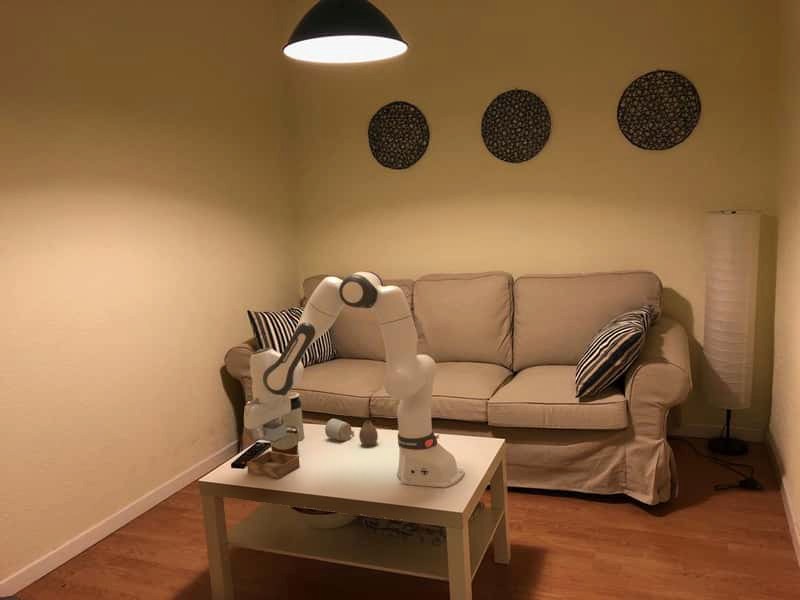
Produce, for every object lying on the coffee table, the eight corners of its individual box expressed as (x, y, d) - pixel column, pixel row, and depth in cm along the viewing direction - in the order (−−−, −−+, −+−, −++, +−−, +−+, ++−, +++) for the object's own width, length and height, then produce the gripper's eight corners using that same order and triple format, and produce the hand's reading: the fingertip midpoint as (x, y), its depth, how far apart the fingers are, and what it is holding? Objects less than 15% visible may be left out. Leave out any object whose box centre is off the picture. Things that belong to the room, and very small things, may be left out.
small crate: (286, 436, 240) (285, 424, 240) (275, 442, 235) (273, 429, 235) (265, 432, 246) (264, 420, 245) (253, 438, 241) (252, 426, 240)
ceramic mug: (340, 444, 263) (339, 424, 262) (325, 440, 268) (323, 421, 267) (359, 435, 271) (358, 417, 270) (344, 432, 276) (343, 413, 275)
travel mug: (306, 435, 276) (302, 391, 273) (301, 442, 268) (297, 397, 265) (286, 435, 276) (282, 392, 274) (281, 443, 269) (277, 398, 266)
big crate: (300, 467, 243) (299, 456, 242) (278, 479, 234) (277, 468, 233) (270, 461, 251) (269, 450, 250) (247, 473, 241) (246, 462, 241)
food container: (305, 448, 261) (302, 423, 259) (301, 454, 255) (298, 429, 253) (273, 449, 262) (271, 424, 260) (269, 456, 256) (266, 430, 254)
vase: (362, 441, 264) (360, 419, 262) (379, 441, 263) (378, 419, 261) (358, 448, 257) (356, 425, 256) (376, 447, 256) (374, 425, 255)
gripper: (251, 404, 228) (255, 444, 230) (292, 387, 245) (295, 424, 247) (237, 402, 231) (241, 441, 233) (278, 385, 248) (282, 422, 250)
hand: (269, 432), depth 240 cm, fingers closed on small crate, 6 cm apart
